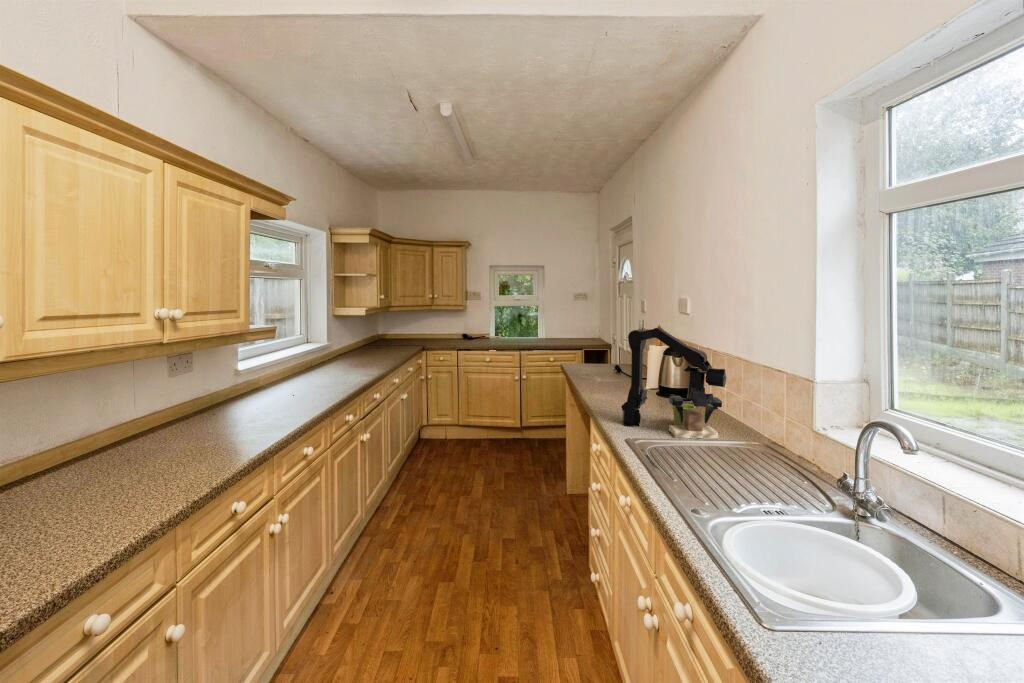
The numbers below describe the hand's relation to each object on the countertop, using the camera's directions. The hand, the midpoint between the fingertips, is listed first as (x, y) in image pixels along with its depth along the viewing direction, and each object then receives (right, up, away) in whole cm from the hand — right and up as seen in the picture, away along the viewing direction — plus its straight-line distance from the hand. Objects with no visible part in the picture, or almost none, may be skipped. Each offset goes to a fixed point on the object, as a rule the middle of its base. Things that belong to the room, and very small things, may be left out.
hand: (693, 422), depth 196 cm
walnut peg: (0, -5, +1) cm, 5 cm away
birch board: (0, -5, +1) cm, 5 cm away
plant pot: (0, -4, +13) cm, 14 cm away
